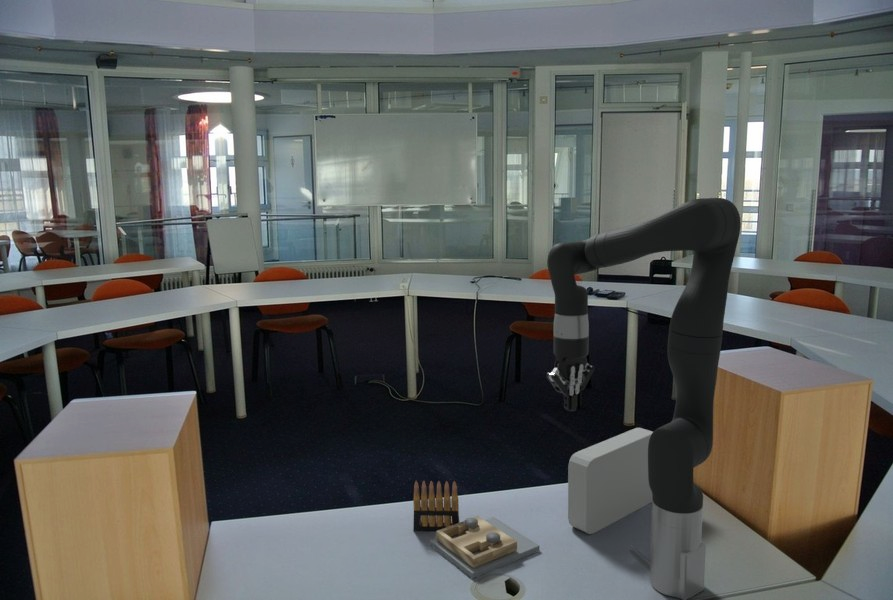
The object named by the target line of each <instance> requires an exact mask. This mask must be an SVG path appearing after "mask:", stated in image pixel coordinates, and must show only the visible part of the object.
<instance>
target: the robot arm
mask: <svg viewBox="0 0 893 600" xmlns="http://www.w3.org/2000/svg"><path fill="white" fill-rule="evenodd" d="M741 222H742V221H741V216H740V212H739V210H738V208H737V206H736V205H735V204H734V203H733V202H732V201H730V200H729V199H727V198H723V197H709V198H706V197H704V198H693V199H691V200H688V201H686V202H684V203H682V204H680V205H678V206H675V207H674V208H672V209H670V210H668V211H666V212H664V213H662V214H660V215H657V216H655V217H653V218H650V219H647V220H644V221H642V222H639V223H635V224H630V225H627V226H622V227H618V228H615V229H610V230H606V231H604V232H600V233H597V234H595V235H592V236H591V237H589V238H587V239H583V240H577V241H566V242H559V243H555V244H554V245H553V246H552V247H551V249H550V250H549V252H548V255H547V263H546V264H547V269H548V270H547V271H548V274H549V277H550V278H549V279H550V282H551V286H552V291H553V293H554V319H553V355H554V356H555V362H554V365H553V367H554V368H553V369H552V370H551V372H548V371H547V372H546V375H545V376H546V379H547V380H548V381H549V383H550V384H551V385H552V387H553V388H554V390H555V391H556V392H557V393H560V394H563V408H564V410H565V411H567V412H574V411H577V407H578V394H579V393H580V391H584V390H585V389H586V387H587V385H588V383H589V381H590V379H591V377H592V375H593V373H594V371H595V369H596V367H595V366H594V365H591V364H589V362H588V359H587V356H588V355H589V348H590V347H589V346H590V345H589V341H590V340H589V335H590V334H589V332H590V328H589V327H590V325H589V324H590V323H589V314H588V313H589V311H588V309H589V303H588V302H589V300H588V299H589V295H588V290H587V288H586V287H584V286H582V285H579V284H577V280H576V277H575V275H580V274H586V273H590V272H593V271H596V270H600V269H601V268H610V267H614V266H617V265H622V264H625V263H628V262H633V261H635V260H639V259H641V258H643V257H645V256H649V255H653V254H657V253H665V252H678V251H683V252H684V251H688V252H689V251H690V252H691V251H693V256H692V265H691V271H690V274H689V277H688V280H687V282H686V285H685V287H684V288H683V291H682V293H680V294H681V295H680V297H679V299H678V301H677V302H676V305H675V307H674V308H673V312H672V314H671V318H670V321H669V322H670V323H669V328H668V339H667V348H666V349H667V351H666V353H667V361H668V364H669V367H670V371H671V374H672V377H673V379H674V382H675V386H676V387H675V388H676V399H675V406H674V412H673V416H672V420H671V421H670V422H668V423H666V424H663V425H662V426H659V427H658V428H656V429H654V431H652V432H653V433H652V434H651V436H650V439H649V444H648V480H649V486H650V489H651V491H652V502H651V530H650V531H651V533H650V536H651V537H650V538H651V539H650V571H649V573H650V574H649V583H650V585H651V586H652V587H653V588H654V589H655V590H656V591H657V592H659V593H661V594H662V595H664V596H668V597H673V598H678V599H681V600H688V599H690V598H692V597H694V596H695V595H697V594H700V592H703V591H704V590H705V575H706V574H705V573H706V555H707V554H706V553H707V552H706V551H707V550H706V548H707V546H706V544H705V543H703V542H702V532H703V529H702V528H703V509H704V508H703V507H704V494H703V490H702V489H701V488H700V487H699V486H697V485H696V484H695V483H694V468H697V467H698V466H700V465H702V464H703V463H704V462H706V460H707V459H708V458H709V456H710V455H711V453H712V450H713V445H714V401H715V391H716V385H717V378H718V370H719V369H718V368H719V362H720V357H721V348H722V343H723V342H722V340H723V335H724V333H723V332H724V319H725V313H726V312H725V311H726V306H727V300H728V299H727V298H728V292H729V291H728V290H729V281H730V276H731V271H732V267H733V263H734V259H735V253H736V251H737V247H738V243H739V242H738V241H739V238H740V233H741V227H742V226H741V224H742V223H741Z"/></svg>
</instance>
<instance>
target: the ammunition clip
mask: <svg viewBox="0 0 893 600" xmlns="http://www.w3.org/2000/svg"><path fill="white" fill-rule="evenodd" d="M428 485H429V486H428V490H427V485H426V481H425V480H423V481H422V484H421V495H420V487H419V483H418V480H415V482H414V487H413V528H412V530H413V532H427V533H428V532H432V533H433V532H435V533H436V531H437V530H440V529H443V528H446V527H449V526H451V525H454V524H457V523H460V513H459V512H460V511H459V510H460V509H459V508H460V507H459V496H458V487H457V483H456V481H455V480H454V481H453V482H452V487H451V493H450V486H449V485H450V484H449V482H448V481H447V480H446V481H445V484H444V490H443V491H444V493H443V491H442V484H441V481H440V480H438V481H437V484H436V496H435V487H434V482H433V481H432V480H431V481H430V483H429V484H428Z"/></svg>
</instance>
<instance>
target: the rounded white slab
mask: <svg viewBox="0 0 893 600" xmlns="http://www.w3.org/2000/svg"><path fill="white" fill-rule="evenodd" d="M653 432H654V431H652V430H649V429H645V428H642V427H635V428H633V429H630V430H627V431H625V432H623V433H620V434H618V435H614V436H613V437H610V438H607V439H606V440H603V441H601V442H598V443H595V444H593V445H590V446H588V447H586V448H583V449H581V450H578V451H577V452H574V453H572V455H571V456H570V459H569V462H568V467H567V469H568V470H567V471H568V472H567V473H568V475H567V520H568V524H569V525H570V526H571V527H573V528H574V529H577V530H579V531H582V532H583V533H586V534H587V535H593V534H596V533H597V532H599V531H602V530H603V529H604V528H607V527H608V526H611V525H612V524H614V523H616V522H617V521H620V520H621V519H623V518H625V517H627V516H629V515H631V514H633V513H634V512H636V511H638V510H640V509H642V508H643V507H646V506H648V505H649V504H652V491H651V489H650V486H649V480H648V444H649V439H650V436H651V434H652V433H653Z"/></svg>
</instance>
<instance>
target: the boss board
mask: <svg viewBox="0 0 893 600" xmlns="http://www.w3.org/2000/svg"><path fill="white" fill-rule="evenodd" d="M484 520H485V521H486V522H488V523H490V524H491V525H493V526H494V527H496V528H497V529H499V530H500V531H502V532H503V533H505V534H506V535H508V536H509V537H511V538H513V539H514V540H516V541H517V550H516V551H514V552H512V553H509V554H507V555H504V556H502V557H499V558H497V559H494V560H492V561H490V562H487V563H485V564H482V565H480V566H477V567H475V568H473V567H472V566H470V565H469V564H468V563H467V562H465V561H464V560H463V559H461V558H460V557H459V556H457V555H456V554H455V553H454V552H452V551H451V550H450V549H448V548H447V547H446V546H444V545H443V544H442V543H441V542H439V541H438V540H437V539H436V537H434V538H433V539H430V540H429V546H430V547H432V548H433V549H434V550H435V551H436V552H438V553H439V554H441V555H442V556H443V557H444V558H446V559H447V560H448V561H449V562H450V563H452V564H453V565H454V566H455V567H457V568H458V569H460V570H461V571H462V572H463V573H465V574H466V575H467V576H468V577H469V578H471V579H475V578H478V577H480V576H483V575H485V574H487V573H490V572H492V571H495V570H497V569H499V568H502V567H503V566H507V565H508V564H511V563H513V562H516V561H518V560H520V559H523V558H525V557H527V556H531V555H533V554H534V553H535V554H536V553H538V552H540V545H539V544H538V543H536V542H535V541H533V540H532V539H530V538H529V537H527V536H526V535H524V534H522V533H520V532H518V531H517V530H516V529H514V528H512V527H511V526H509V525H508V524H506V523H505V522H503V521H501V520H500V519H498V518H497V517H495V516H493V517H490V518H487V519H484ZM464 521H465V526H466V527H469V530H471V529H474V527H476V526H478V520H477V519H475V518H474V517H467V518H465V519H464ZM464 535H465V534H464ZM461 536H462V535H461ZM457 537H459V535H458V534H457V535H454V536H452V537H451V538H452V539H454V538H457ZM486 540H487V541H488V542H490V543H491V546H492V545H494V544H496V543H497V542H499V541H500V534H498V533H495V532H491V533H488V534H487V535H486ZM484 551H487V549H486V550H484ZM484 551H480V550H477V551H474V552H472V554H474V555H476V554H479V553H481V552H484Z"/></svg>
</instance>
